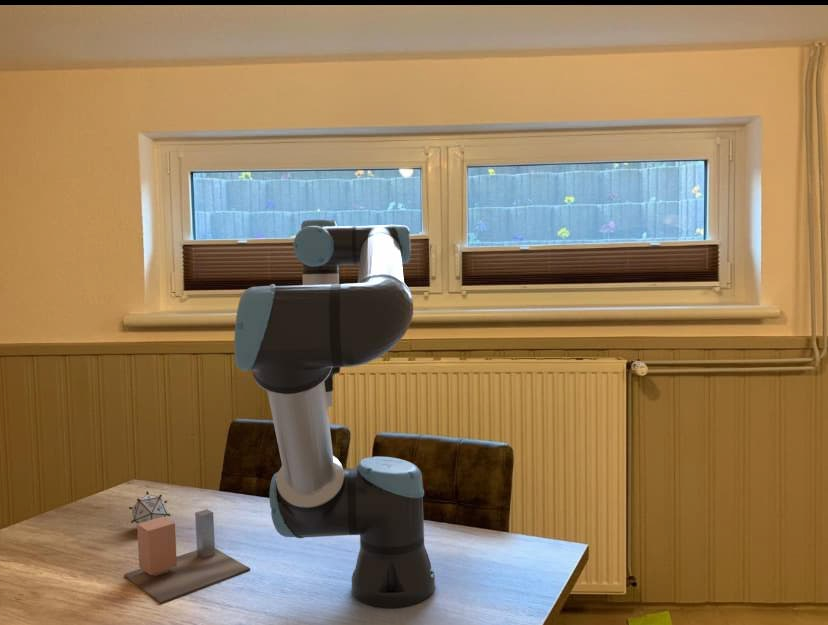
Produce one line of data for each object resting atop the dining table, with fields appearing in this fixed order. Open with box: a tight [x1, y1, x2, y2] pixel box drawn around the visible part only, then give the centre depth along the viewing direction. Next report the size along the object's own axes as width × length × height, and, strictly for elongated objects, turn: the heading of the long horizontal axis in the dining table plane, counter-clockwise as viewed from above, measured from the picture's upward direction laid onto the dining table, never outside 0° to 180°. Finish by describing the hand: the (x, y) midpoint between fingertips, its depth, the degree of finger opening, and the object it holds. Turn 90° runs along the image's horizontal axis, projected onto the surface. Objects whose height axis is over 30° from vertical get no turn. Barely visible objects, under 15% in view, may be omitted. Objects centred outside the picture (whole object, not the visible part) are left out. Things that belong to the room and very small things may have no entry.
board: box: [123, 547, 251, 605], centre depth 131 cm, size 16×18×1 cm
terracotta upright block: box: [136, 517, 178, 575], centre depth 131 cm, size 5×5×9 cm
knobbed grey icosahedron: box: [128, 490, 171, 525], centre depth 155 cm, size 9×8×10 cm
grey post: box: [194, 509, 216, 559], centre depth 138 cm, size 3×3×9 cm
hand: (325, 406), depth 142 cm, fingers closed
